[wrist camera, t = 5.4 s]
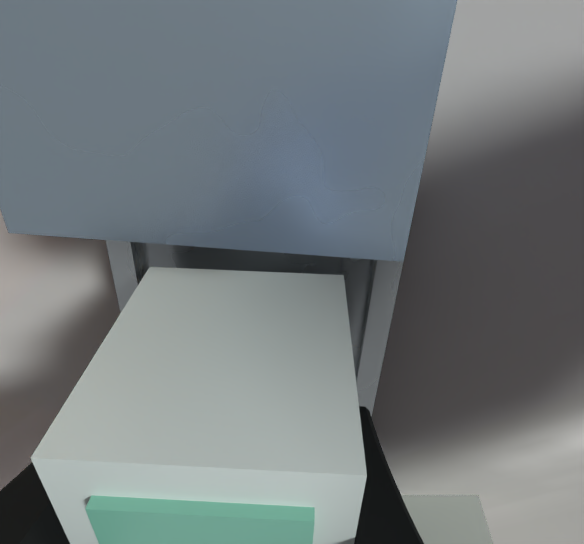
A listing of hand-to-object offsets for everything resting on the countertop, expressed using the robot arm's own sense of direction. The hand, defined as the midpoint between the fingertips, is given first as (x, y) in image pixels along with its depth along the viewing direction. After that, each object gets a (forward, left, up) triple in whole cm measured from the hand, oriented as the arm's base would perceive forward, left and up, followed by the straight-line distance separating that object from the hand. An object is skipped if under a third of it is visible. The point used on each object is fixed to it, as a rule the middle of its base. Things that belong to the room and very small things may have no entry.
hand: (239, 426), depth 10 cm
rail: (0, 0, -4) cm, 4 cm away
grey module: (0, 0, -2) cm, 2 cm away
